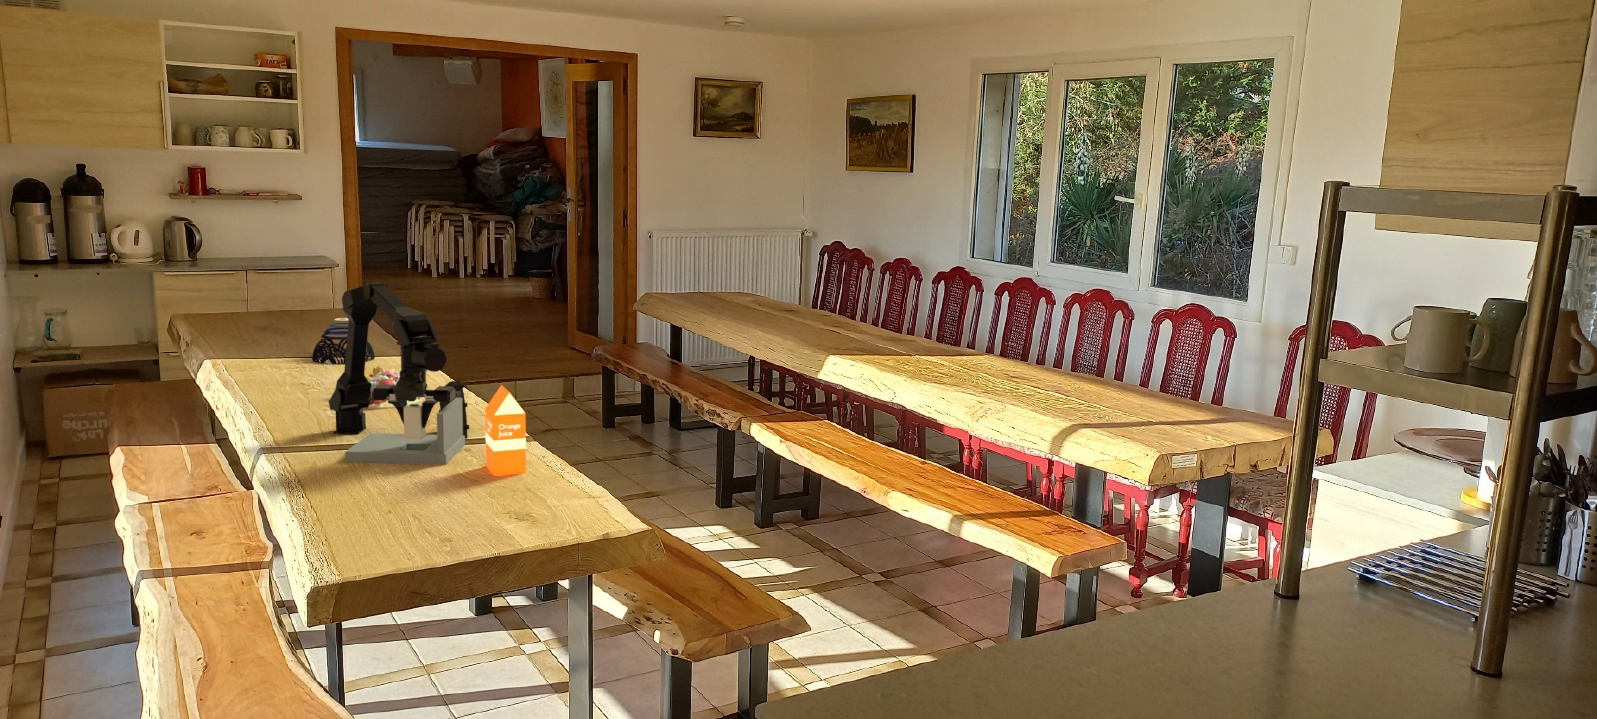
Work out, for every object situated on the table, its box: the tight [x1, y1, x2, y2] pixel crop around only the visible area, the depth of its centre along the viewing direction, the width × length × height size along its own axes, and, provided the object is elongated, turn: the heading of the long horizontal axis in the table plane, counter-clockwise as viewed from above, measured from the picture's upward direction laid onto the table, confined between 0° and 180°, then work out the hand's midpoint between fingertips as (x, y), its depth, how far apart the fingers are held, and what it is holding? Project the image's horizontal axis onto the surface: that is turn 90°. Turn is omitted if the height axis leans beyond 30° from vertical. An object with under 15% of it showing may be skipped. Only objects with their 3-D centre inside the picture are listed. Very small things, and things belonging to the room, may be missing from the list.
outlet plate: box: [344, 398, 466, 465], centre depth 276 cm, size 24×18×12 cm
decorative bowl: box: [311, 317, 376, 365], centre depth 390 cm, size 20×20×14 cm
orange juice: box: [484, 384, 527, 477], centre depth 265 cm, size 8×9×20 cm
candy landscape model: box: [364, 365, 424, 410], centre depth 333 cm, size 25×24×9 cm
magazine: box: [438, 380, 470, 440], centre depth 296 cm, size 4×13×15 cm, turn 39°
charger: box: [403, 403, 427, 440], centre depth 273 cm, size 4×4×8 cm
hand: (415, 427), depth 273 cm, fingers closed on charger, 4 cm apart
